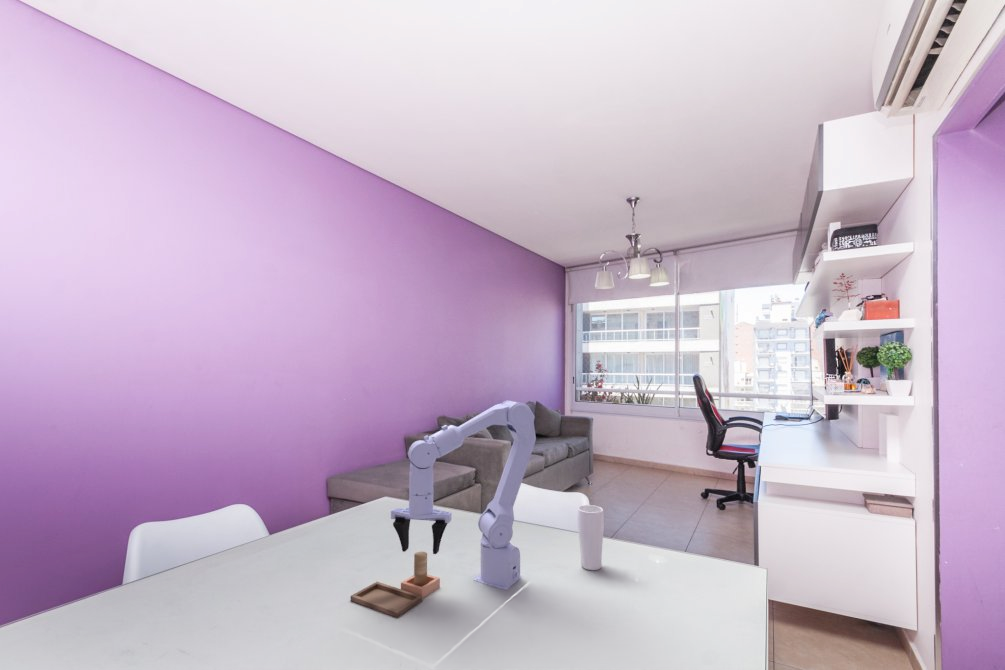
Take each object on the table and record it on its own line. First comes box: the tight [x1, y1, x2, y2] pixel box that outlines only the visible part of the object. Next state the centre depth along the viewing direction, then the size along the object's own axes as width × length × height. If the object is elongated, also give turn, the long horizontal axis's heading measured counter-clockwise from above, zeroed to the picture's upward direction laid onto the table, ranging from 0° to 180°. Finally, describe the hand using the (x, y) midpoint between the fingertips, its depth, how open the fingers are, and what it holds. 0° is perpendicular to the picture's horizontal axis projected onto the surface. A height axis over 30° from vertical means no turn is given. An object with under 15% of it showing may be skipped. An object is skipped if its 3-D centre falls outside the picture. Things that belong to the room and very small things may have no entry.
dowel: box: [413, 551, 428, 587], centre depth 109 cm, size 3×3×8 cm
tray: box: [350, 581, 423, 619], centre depth 104 cm, size 14×8×2 cm, turn 59°
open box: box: [400, 574, 441, 599], centre depth 109 cm, size 6×6×2 cm
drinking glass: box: [577, 504, 605, 571], centre depth 122 cm, size 7×7×15 cm
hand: (420, 551), depth 109 cm, fingers open, 7 cm apart
